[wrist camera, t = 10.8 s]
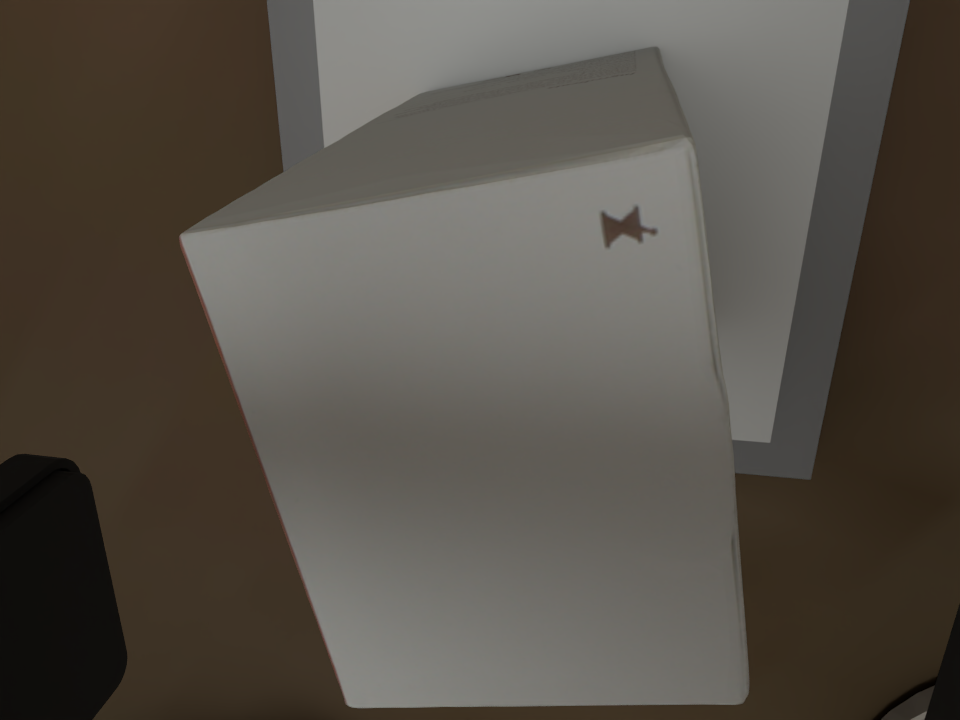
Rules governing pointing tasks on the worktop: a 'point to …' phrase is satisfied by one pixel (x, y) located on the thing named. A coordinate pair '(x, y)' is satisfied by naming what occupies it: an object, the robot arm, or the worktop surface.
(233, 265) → the small box
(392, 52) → the case
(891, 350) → the worktop surface
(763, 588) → the worktop surface
